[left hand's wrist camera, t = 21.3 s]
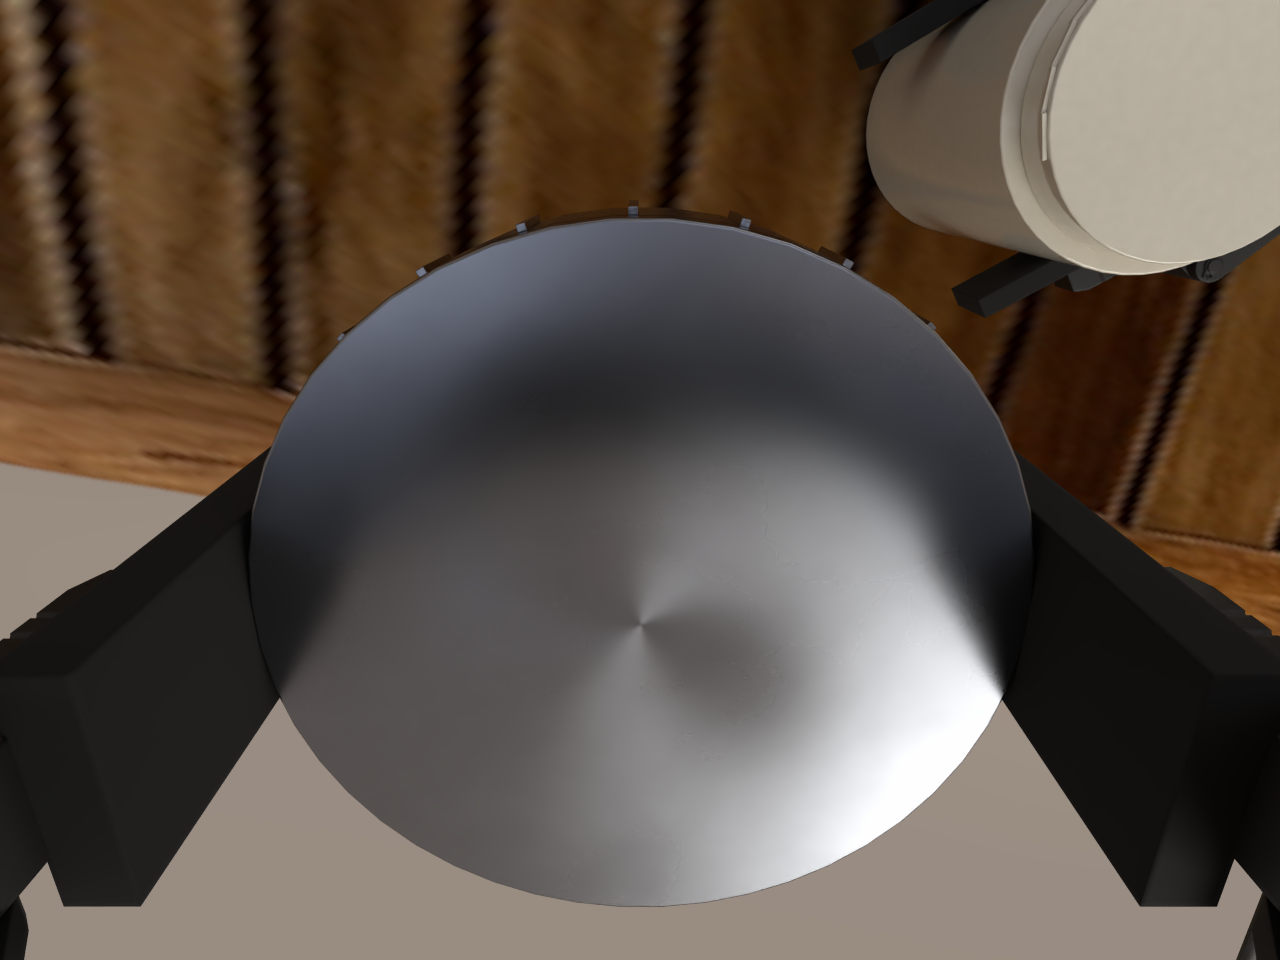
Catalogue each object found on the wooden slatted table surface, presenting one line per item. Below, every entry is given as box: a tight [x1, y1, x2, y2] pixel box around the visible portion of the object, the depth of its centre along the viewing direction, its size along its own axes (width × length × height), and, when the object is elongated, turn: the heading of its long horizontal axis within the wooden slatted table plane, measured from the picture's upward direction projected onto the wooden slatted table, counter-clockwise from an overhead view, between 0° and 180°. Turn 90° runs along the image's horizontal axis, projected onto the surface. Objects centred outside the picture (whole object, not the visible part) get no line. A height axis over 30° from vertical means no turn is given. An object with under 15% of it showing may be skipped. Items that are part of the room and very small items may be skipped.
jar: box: [866, 0, 1280, 275], centre depth 27 cm, size 9×9×16 cm
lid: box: [248, 200, 1035, 907], centre depth 11 cm, size 10×10×2 cm
